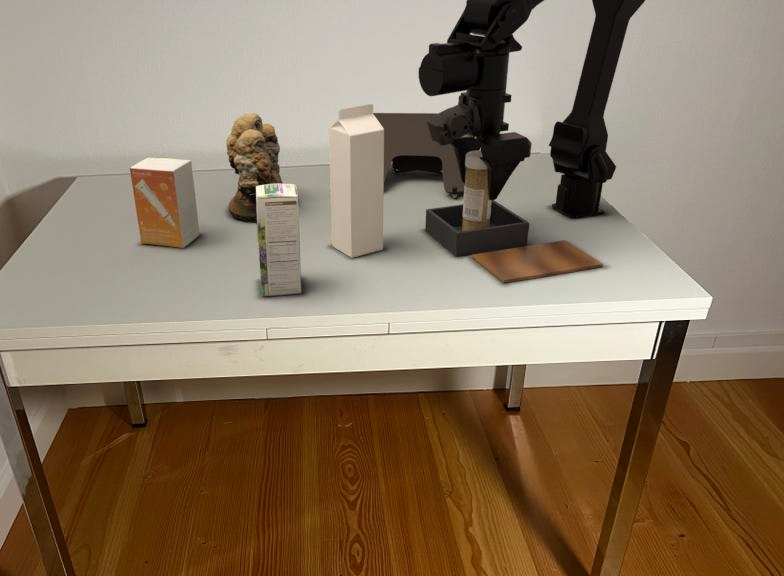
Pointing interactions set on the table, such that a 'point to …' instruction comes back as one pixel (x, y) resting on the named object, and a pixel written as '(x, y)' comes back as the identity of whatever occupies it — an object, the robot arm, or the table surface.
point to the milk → (357, 181)
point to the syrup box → (278, 239)
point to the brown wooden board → (535, 261)
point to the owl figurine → (252, 162)
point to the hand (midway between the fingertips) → (478, 190)
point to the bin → (476, 230)
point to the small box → (165, 201)
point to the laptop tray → (418, 149)
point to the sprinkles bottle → (476, 193)
